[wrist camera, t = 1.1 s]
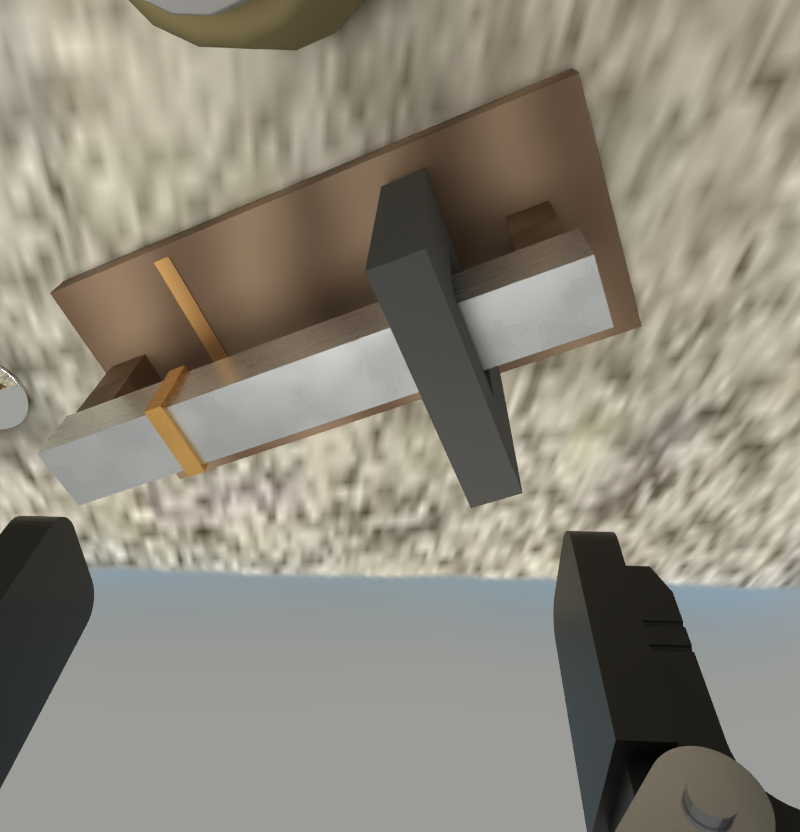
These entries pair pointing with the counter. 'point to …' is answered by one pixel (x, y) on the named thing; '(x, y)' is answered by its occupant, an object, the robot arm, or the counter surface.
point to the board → (352, 245)
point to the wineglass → (11, 400)
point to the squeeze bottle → (248, 21)
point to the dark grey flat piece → (440, 338)
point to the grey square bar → (320, 374)
